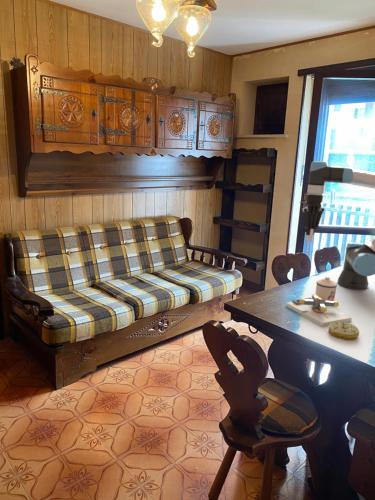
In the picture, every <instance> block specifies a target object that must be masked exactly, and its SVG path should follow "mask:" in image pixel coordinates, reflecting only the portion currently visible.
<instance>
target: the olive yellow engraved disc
mask: <svg viewBox="0 0 375 500" xmlns="http://www.w3.org/2000/svg"><path fill="white" fill-rule="evenodd" d="M328 333H330V335H331V336H334V337H336V338H338V339H343V340H347V341H349V340H350V341H351V340H355V339H357V338H358V337H359V336H360V329H359V327H358V326H356V325H354V324H353V323H350V322H334V323H332V324H330V325H328Z"/></svg>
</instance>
